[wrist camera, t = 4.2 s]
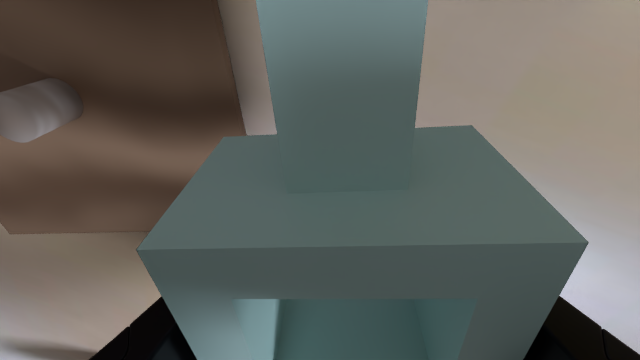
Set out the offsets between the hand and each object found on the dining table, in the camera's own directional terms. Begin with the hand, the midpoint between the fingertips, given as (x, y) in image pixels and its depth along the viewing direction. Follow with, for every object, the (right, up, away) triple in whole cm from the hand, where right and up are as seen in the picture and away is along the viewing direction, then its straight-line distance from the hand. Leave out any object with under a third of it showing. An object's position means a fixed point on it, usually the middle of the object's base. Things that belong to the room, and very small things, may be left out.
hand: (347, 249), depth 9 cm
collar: (0, +3, -1) cm, 3 cm away
